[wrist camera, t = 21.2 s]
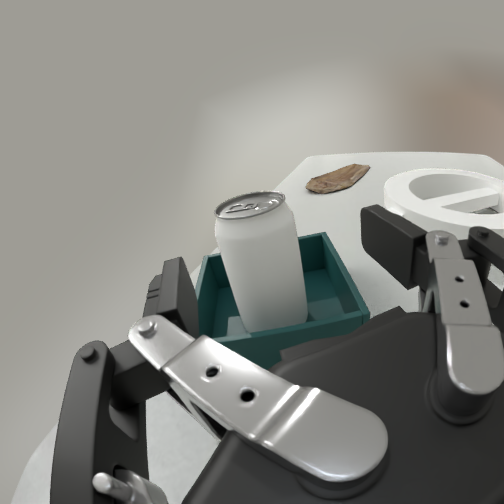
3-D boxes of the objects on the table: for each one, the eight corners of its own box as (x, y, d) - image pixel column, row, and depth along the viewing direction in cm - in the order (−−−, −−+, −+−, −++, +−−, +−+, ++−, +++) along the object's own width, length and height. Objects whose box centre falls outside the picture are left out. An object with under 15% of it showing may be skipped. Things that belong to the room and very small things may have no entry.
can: (305, 342, 23) (284, 214, 18) (236, 341, 25) (195, 224, 20) (311, 296, 29) (294, 185, 23) (252, 298, 31) (224, 194, 25)
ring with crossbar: (362, 243, 37) (361, 211, 35) (401, 184, 54) (400, 163, 52) (544, 278, 19) (554, 244, 17) (515, 201, 36) (517, 179, 34)
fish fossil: (341, 165, 77) (341, 161, 76) (374, 168, 71) (374, 164, 70) (298, 191, 61) (298, 186, 60) (340, 197, 55) (340, 191, 54)
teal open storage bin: (202, 384, 22) (180, 347, 20) (215, 290, 35) (203, 255, 32) (366, 356, 21) (370, 313, 19) (328, 268, 33) (325, 231, 31)
